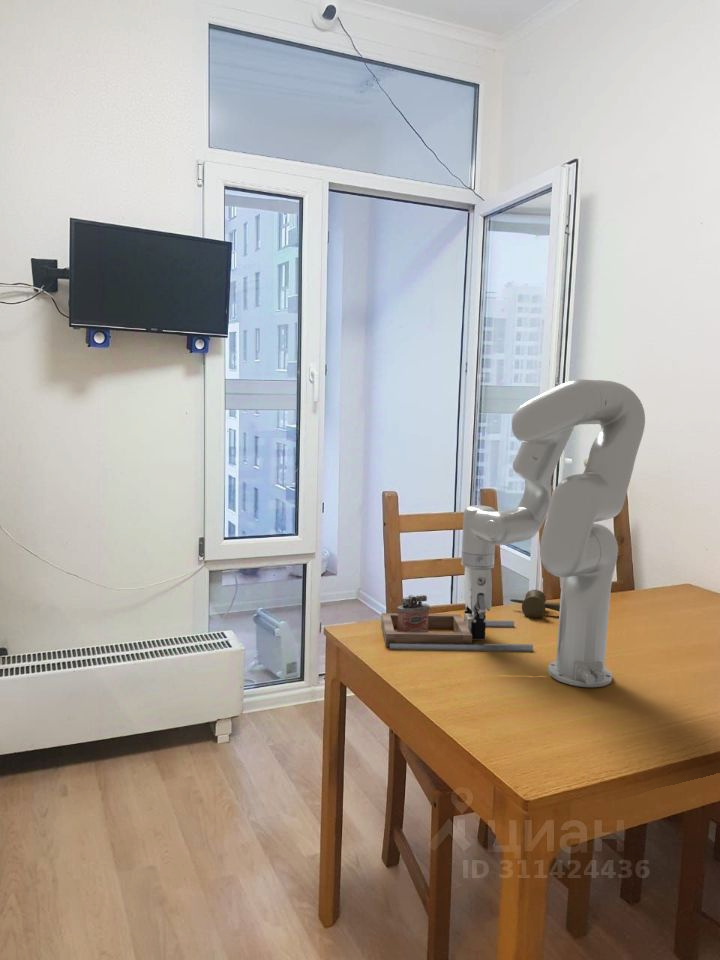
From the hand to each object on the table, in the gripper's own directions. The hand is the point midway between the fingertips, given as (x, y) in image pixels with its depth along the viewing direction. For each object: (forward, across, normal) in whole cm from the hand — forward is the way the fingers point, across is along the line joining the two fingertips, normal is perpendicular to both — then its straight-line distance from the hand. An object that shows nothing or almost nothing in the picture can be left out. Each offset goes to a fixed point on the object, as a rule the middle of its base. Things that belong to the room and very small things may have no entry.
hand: (474, 632), depth 168 cm
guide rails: (+1, 0, +4) cm, 5 cm away
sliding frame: (+1, 0, +10) cm, 10 cm away
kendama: (+2, +19, -23) cm, 30 cm away
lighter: (+2, 0, +14) cm, 15 cm away
